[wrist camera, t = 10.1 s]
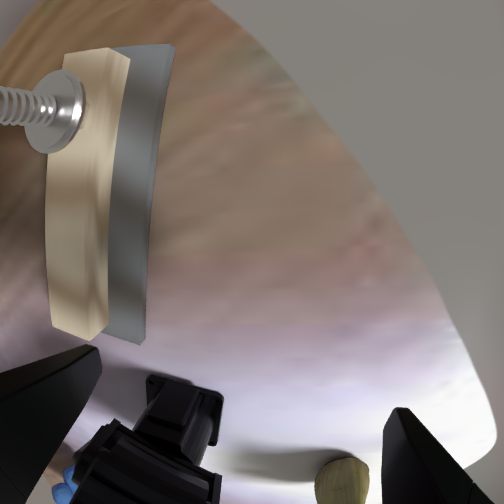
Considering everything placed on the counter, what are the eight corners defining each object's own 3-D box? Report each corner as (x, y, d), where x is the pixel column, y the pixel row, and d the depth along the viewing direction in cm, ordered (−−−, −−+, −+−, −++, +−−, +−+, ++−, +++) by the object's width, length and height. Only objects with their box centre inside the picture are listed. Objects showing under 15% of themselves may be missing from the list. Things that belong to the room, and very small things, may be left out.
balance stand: (145, 338, 23) (122, 364, 20) (58, 308, 24) (31, 326, 21) (175, 48, 18) (151, 28, 14) (73, 57, 18) (41, 47, 15)
